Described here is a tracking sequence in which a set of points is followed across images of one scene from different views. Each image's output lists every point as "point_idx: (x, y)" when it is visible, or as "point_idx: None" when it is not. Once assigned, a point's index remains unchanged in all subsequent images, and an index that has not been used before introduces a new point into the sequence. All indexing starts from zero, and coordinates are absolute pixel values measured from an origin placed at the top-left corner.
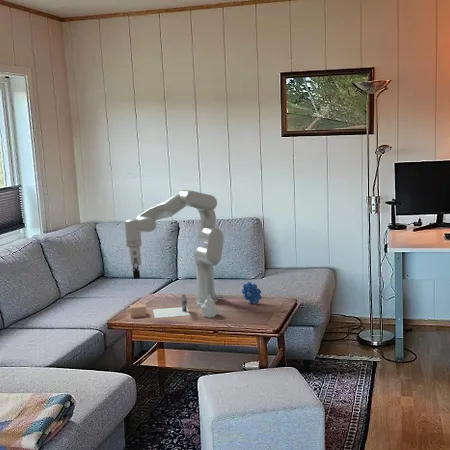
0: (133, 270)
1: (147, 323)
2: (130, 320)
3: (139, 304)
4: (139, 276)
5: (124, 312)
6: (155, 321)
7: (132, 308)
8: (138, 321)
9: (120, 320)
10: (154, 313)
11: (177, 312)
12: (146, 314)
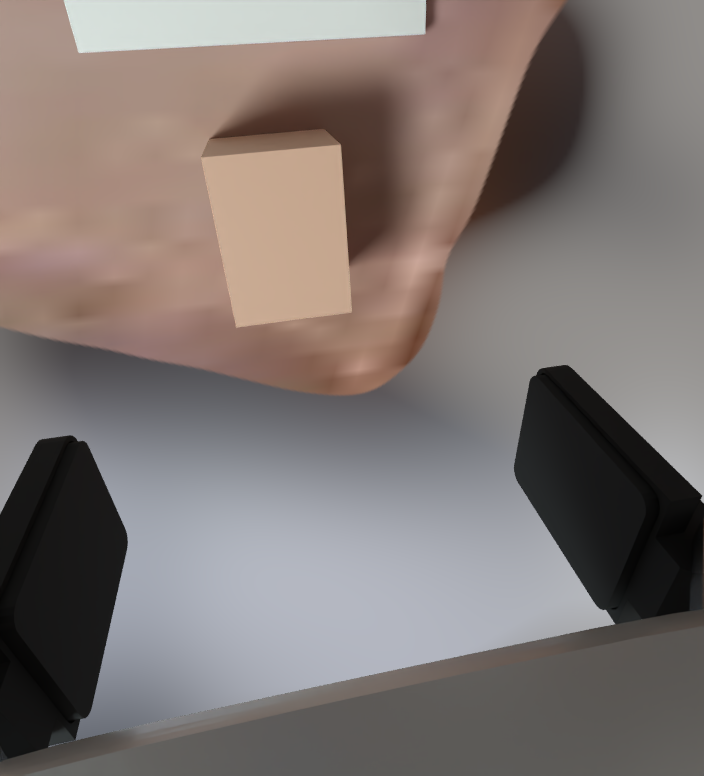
0: (108, 618)
1: (499, 117)
2: (366, 274)
3: (223, 229)
4: (582, 390)
5: (118, 345)
6: (468, 28)
7: (348, 291)
8: (414, 205)
9: (346, 347)
10: (251, 34)
11: None
12: (328, 133)
